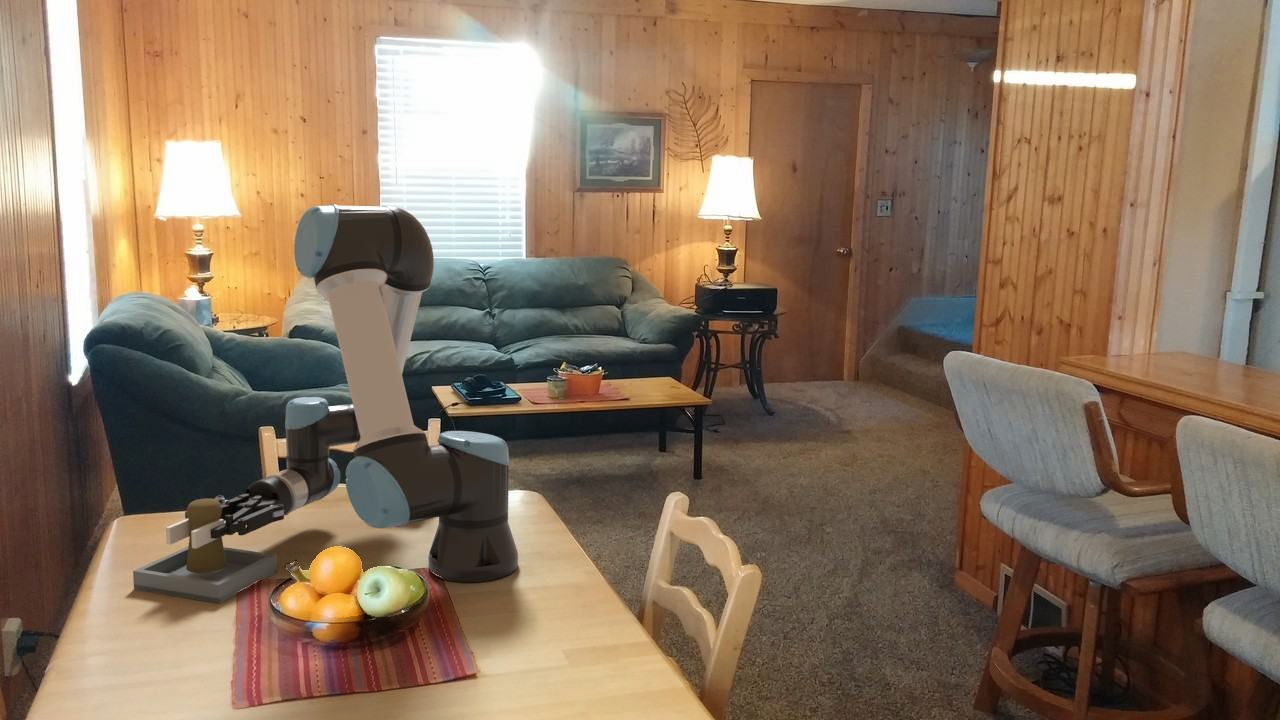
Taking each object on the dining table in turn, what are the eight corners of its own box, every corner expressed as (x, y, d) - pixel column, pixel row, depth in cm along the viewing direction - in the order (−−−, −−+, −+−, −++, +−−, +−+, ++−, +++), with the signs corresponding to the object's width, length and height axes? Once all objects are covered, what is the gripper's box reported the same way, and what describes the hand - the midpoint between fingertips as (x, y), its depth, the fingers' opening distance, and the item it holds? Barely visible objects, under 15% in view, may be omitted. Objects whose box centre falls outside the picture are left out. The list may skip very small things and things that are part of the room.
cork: (233, 560, 166) (231, 496, 164) (214, 574, 160) (212, 507, 158) (198, 558, 167) (195, 493, 165) (178, 571, 161) (175, 505, 159)
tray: (276, 572, 168) (276, 554, 168) (219, 603, 155) (218, 584, 154) (196, 559, 172) (195, 542, 172) (133, 589, 159) (133, 571, 159)
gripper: (317, 522, 177) (228, 568, 155) (235, 510, 182) (136, 553, 160) (317, 481, 176) (226, 521, 154) (234, 470, 181) (134, 508, 159)
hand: (181, 537), depth 157 cm, fingers closed on cork, 4 cm apart
